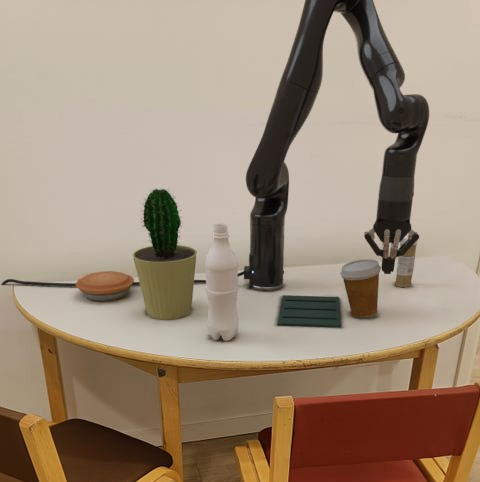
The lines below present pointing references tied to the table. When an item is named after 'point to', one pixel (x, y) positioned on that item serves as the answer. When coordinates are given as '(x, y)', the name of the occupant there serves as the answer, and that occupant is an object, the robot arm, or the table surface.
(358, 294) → the disposable coffee cup
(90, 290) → the pie
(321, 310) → the mat
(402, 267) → the sprinkles bottle
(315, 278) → the table surface
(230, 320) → the water bottle
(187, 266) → the potted cactus
